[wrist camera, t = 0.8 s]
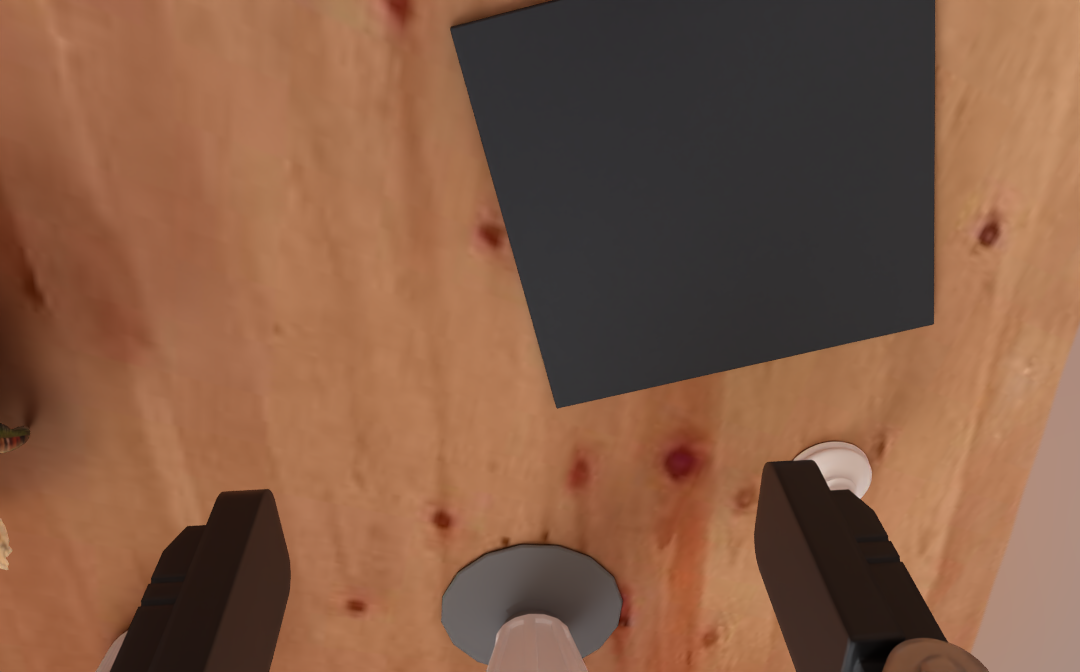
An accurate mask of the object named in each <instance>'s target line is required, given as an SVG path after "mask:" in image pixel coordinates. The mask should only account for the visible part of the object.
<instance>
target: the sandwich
mask: <svg viewBox="0 0 1080 672" xmlns="http://www.w3.org/2000/svg"><path fill="white" fill-rule="evenodd" d="M29 436H30V430H29V428H28V427H26V426H21V427H17V428H14V429H10V428H9V427H7V426H5V425H4V424H1V423H0V453H6V452H10V451H12V450H14V449H16V448H18V447H20V446H21V445H23V444H24V443H25V442H26V441H27V440H28V439H29ZM8 544H9V538H8V535H7V530H6V527H5V525H4V524H3V522H2V520H1V519H0V569H5V570H8V567H7V565H9V564H8V562H7V560H6V557H7V556H8V555H9V554H10V553H11V552H12V549H11V548H10V547H9V546H8Z"/></svg>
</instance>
